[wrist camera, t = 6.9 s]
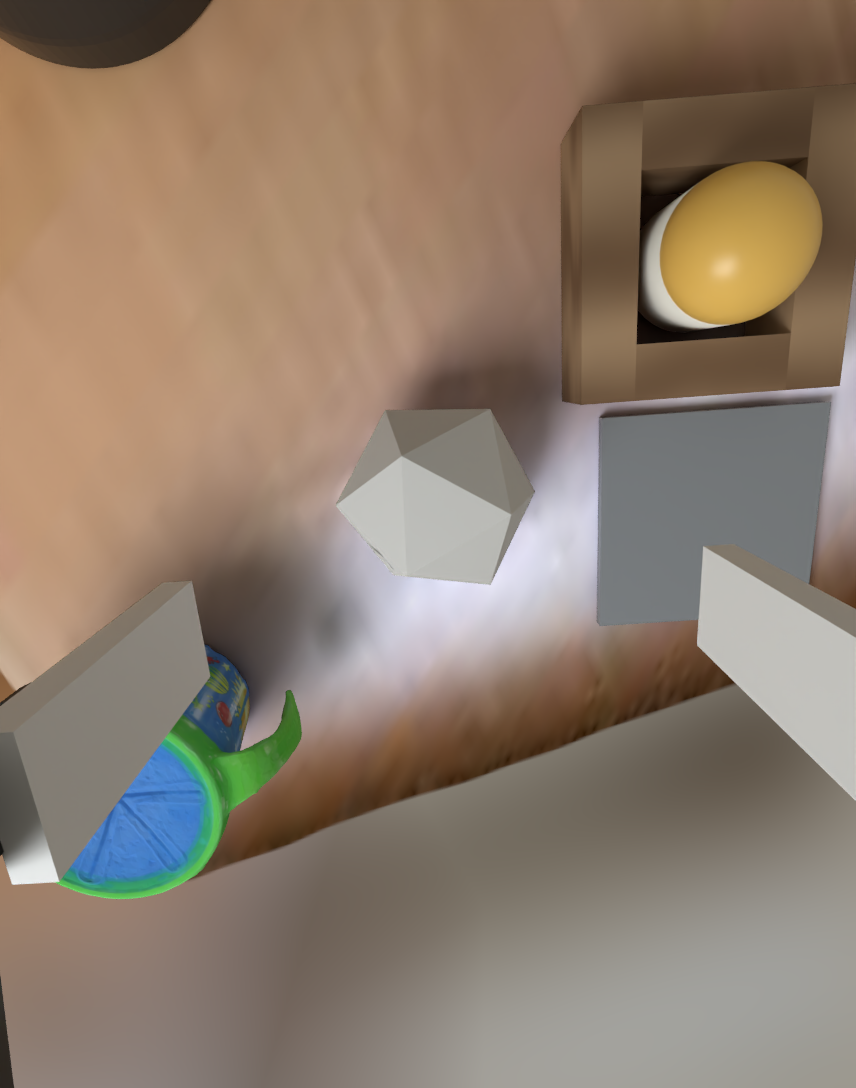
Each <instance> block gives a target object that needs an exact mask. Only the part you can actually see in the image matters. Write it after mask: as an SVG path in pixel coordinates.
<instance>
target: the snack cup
mask: <svg viewBox="0 0 856 1088" xmlns="http://www.w3.org/2000/svg"><path fill="white" fill-rule="evenodd" d="M204 646H205V651H206V656H207V661H208V667H209V672H210V678H209V679H208V680H207V682H206V683H205V684H204V686H203V687H202V689H201V690H200V691H199V693H198V694H197V695H196V697H195V698H194V699H193V701H192V702H191V703H190V705H189V706H188V708H187V709H186V710H185V712H184V713H183V714H182V716H181V717H180V718H179V720H178V721H177V723H176V724H175V725H174V727H173V728H172V729H171V731H170V732H169V733H168V735H167V736H166V737H165V739H164V740H163V742H162V743H161V744H160V746H159V747H158V748H157V750H156V751H155V752H154V754H153V755H152V757H151V758H150V759H149V761H148V762H147V763H146V765H145V766H144V767H143V769H142V770H141V771H140V773H139V774H138V776H137V777H136V778H135V780H134V781H133V782H132V784H131V785H130V786H129V788H128V789H127V791H126V792H125V793H124V795H123V796H122V797H121V799H120V800H119V801H118V803H117V804H116V805H115V807H114V808H113V810H112V811H111V812H110V814H109V815H108V816H107V818H106V819H105V820H104V822H103V823H102V825H101V826H100V827H99V829H98V830H97V831H96V833H95V834H94V835H93V837H92V838H91V839H90V841H89V842H88V844H87V845H86V846H85V848H84V849H83V850H82V852H81V853H80V854H79V856H78V857H77V859H76V860H75V861H74V863H73V864H72V865H71V867H70V868H69V869H68V871H67V872H66V873H65V875H64V876H63V878H62V879H61V880H60V882H56V883H57V884H59V885H61V886H64V887H67V888H69V889H72V890H74V891H77V892H80V893H84V894H87V895H92V896H98V897H103V898H113V899H131V898H140V897H146V896H151V895H155V894H159V893H162V892H165V891H167V890H170V889H172V888H174V887H176V886H178V885H180V884H182V883H183V882H185V881H187V880H188V879H190V878H192V877H194V876H195V875H196V874H198V873H199V872H200V871H201V870H202V869H203V868H204V867H205V865H206V863H207V862H208V861H209V859H210V857H211V856H212V854H213V853H214V851H215V849H216V847H217V845H218V843H219V841H220V839H221V837H222V835H223V832H224V830H225V827H226V824H227V821H228V818H229V813H230V811H231V810H232V809H234V808H235V807H236V806H237V805H239V804H240V803H242V802H243V801H244V800H246V799H247V798H249V797H250V796H251V795H253V794H255V793H257V792H258V790H259V789H260V788H261V787H262V786H263V785H264V784H265V783H267V782H268V781H269V780H270V779H271V778H272V777H273V776H274V775H275V774H276V773H277V772H278V771H279V769H280V768H281V767H282V766H283V765H284V764H285V763H286V761H287V760H288V759H289V757H290V756H291V754H292V753H293V752H294V750H295V749H296V747H297V745H298V744H299V742H300V740H301V735H302V731H301V723H300V716H299V712H298V709H297V705H296V702H295V699H294V696H293V693H292V691H291V690H288V691H286V700H285V705H284V708H283V713H282V721H281V723H280V725H279V727H278V729H277V730H276V732H275V733H274V734H273V735H271V736H270V737H268V738H266V739H264V740H262V741H260V742H258V743H256V744H254V745H253V746H251V747H249V748H246V749H244V750H242V751H240V748H241V744H242V740H243V736H244V732H245V728H246V724H247V721H248V716H249V688H248V686H247V683H246V681H245V680H244V679H243V678H242V677H241V675H240V673H239V672H238V670H237V669H236V668H235V666H234V665H233V664H232V663H230V661H229V660H228V659H226V657H225V656H223V655H221V654H219V653H216V652H215V651H213V650H212V649H211V648H210V647H209V646H208V645H204Z"/></svg>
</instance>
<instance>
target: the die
mask: <svg viewBox="0 0 856 1088" xmlns="http://www.w3.org/2000/svg"><path fill="white" fill-rule="evenodd" d="M534 492H535V491H534V489H533V487H532V485H531V483H530V482H529V480H528V478H527V476H526V474H525V472H524V471H523V469H522V467H521V465H520V463H519V461H518V459H517V458H516V456H515V454H514V452H513V450H512V448H511V447H510V445H509V443H508V441H507V439H506V437H505V435H504V434H503V432H502V430H501V428H500V426H499V424H498V422H497V421H496V419H495V417H494V415H493V413H492V411H491V410H490V409H438V410H385V411H384V413H383V415H382V417H381V419H380V421H379V423H378V425H377V427H376V429H375V431H374V433H373V435H372V436H371V438H370V440H369V442H368V444H367V446H366V448H365V450H364V452H363V454H362V456H361V458H360V460H359V461H358V463H357V465H356V467H355V469H354V471H353V473H352V475H351V477H350V479H349V481H348V483H347V485H346V486H345V488H344V490H343V492H342V494H341V496H340V498H339V500H338V502H337V504H336V507H337V508H338V509H339V510H340V511H341V513H342V514H343V515H344V516H345V517H346V519H347V520H348V521H349V522H350V523H351V525H352V526H353V527H354V528H355V529H356V531H357V532H358V533H359V534H360V535H361V537H362V538H363V539H364V540H365V541H366V543H367V544H368V545H369V546H370V547H371V549H372V550H373V551H374V552H375V553H376V555H377V556H378V557H379V558H380V559H381V561H382V562H383V563H384V564H385V565H386V567H387V568H388V569H389V570H390V572H391V573H392V574H393V575H396V576H406V577H417V578H427V579H437V580H447V581H458V582H468V583H478V584H488V585H491V582H492V580H493V578H494V576H495V574H496V572H497V570H498V568H499V566H500V564H501V561H502V559H503V557H504V555H505V553H506V551H507V549H508V547H509V545H510V543H511V540H512V538H513V536H514V534H515V532H516V530H517V528H518V526H519V524H520V522H521V519H522V517H523V515H524V513H525V511H526V509H527V507H528V505H529V503H530V501H531V498H532V496H533V494H534Z"/></svg>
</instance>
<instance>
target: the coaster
mask: <svg viewBox="0 0 856 1088" xmlns="http://www.w3.org/2000/svg"><path fill="white" fill-rule="evenodd" d="M830 406H831V402H810V403H796V404H782V405H768V406H754V407H740V408H726V409H713V410H699V411H685V412H671V413H657V414H643V415H629V416H615V417H601V418H599V487H598V570H597V623H598V624H599V626H607V625H623V624H638V623H653V622H669V621H684V620H699V606H700V591H701V575H702V559H703V546H713V545H728V544H734V545H736V546H738V547H740V548H742V549H744V550H746V551H747V552H749V553H751V554H753V555H755V556H757V557H759V558H761V559H762V560H764V561H766V562H768V563H770V564H772V565H774V566H776V567H777V568H779V569H781V570H783V571H785V572H787V573H789V574H791V575H792V576H794V577H796V578H798V579H800V580H802V581H804V582H806V583H807V584H809V580H810V571H811V563H812V555H813V547H814V538H815V530H816V522H817V514H818V505H819V497H820V489H821V481H822V472H823V464H824V456H825V448H826V439H827V431H828V423H829V415H830Z"/></svg>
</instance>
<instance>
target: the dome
mask: <svg viewBox="0 0 856 1088" xmlns="http://www.w3.org/2000/svg"><path fill="white" fill-rule="evenodd" d="M822 226H823V224H822V213H821V208H820V205H819V202H818V199H817V196H816V194H815V193H814V191H813V189H812V188H811V186H810V185H809V183H808V182H807V181H806V180H805V179H804V178H803V177H802V176H801V175H799V174H798V173H797V172H795V171H793V170H791V169H789V168H787V167H785V166H783V165H780V164H777V163H773V162H766V161H750V162H743V163H739V164H735V165H732V166H728V167H725V168H723V169H721V170H719V171H717V172H715V173H713V174H711V175H710V176H708V177H706V178H705V179H703V180H702V181H700V182H699V183H697V184H696V185H695V186H693V187H692V188H691V189H689V190H688V191H686V192H685V193H684V194H682V195H681V196H679V197H678V198H677V199H675V200H674V201H672V202H671V203H670V204H668V205H667V206H666V207H664V208H663V209H661V210H660V211H659V212H657V213H656V214H655V215H654V216H653V217H652V218H651V219H650V220H649V221H648V222H647V223H646V224H645V225H644V227H643V228H642V229H641V231H640V238H639V273H638V308H637V309H638V310H639V312H640V313H641V314H642V315H643V317H645V318H646V319H647V320H648V321H649V322H650V323H652V324H653V325H655V326H657V327H659V328H661V329H664V330H667V331H671V332H691V331H697V330H703V329H709V328H714V327H720V326H726V325H731V324H737V323H741V322H745V321H748V320H752V319H754V318H757V317H759V316H761V315H763V314H765V313H767V312H769V311H770V310H772V309H774V308H775V307H777V306H778V305H779V304H781V303H782V302H784V301H785V300H786V299H787V298H788V297H789V296H790V295H791V294H792V293H793V292H794V291H795V290H796V289H797V288H798V287H799V285H800V284H801V283H802V282H803V280H804V279H805V277H806V276H807V274H808V273H809V271H810V269H811V267H812V265H813V263H814V261H815V259H816V256H817V254H818V251H819V247H820V244H821V238H822Z"/></svg>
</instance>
